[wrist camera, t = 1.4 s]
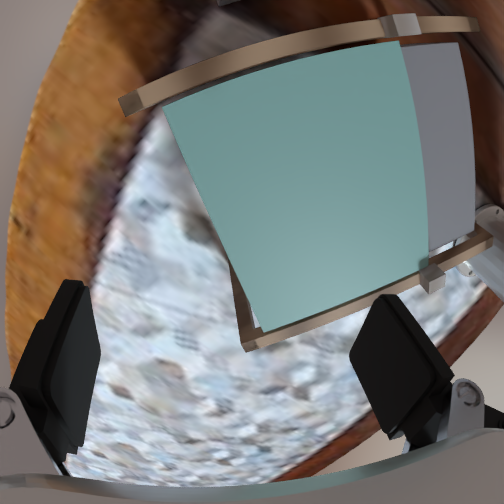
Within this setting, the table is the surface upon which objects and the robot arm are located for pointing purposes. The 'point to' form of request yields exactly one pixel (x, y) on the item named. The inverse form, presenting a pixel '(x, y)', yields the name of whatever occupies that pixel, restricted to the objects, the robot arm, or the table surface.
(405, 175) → the hatch door
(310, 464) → the table surface
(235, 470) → the table surface
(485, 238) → the stand
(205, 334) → the table surface
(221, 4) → the smooth gray block
